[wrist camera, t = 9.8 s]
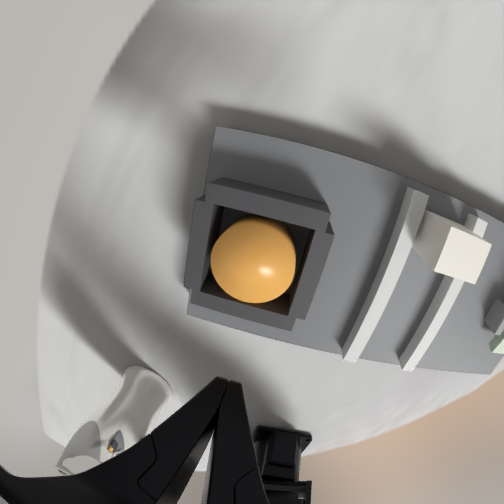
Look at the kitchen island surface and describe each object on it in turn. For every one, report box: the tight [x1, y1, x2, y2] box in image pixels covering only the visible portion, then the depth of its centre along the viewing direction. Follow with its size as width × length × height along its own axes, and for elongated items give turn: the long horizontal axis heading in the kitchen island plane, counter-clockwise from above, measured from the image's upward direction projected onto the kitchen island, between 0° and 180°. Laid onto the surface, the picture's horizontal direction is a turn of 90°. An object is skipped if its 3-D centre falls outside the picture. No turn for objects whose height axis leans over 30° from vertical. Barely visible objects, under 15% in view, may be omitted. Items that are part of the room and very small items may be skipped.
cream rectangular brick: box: [412, 210, 492, 284], centre depth 13 cm, size 2×3×4 cm
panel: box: [184, 126, 504, 374], centre depth 16 cm, size 13×29×4 cm, turn 78°
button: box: [211, 213, 296, 303], centre depth 16 cm, size 4×4×2 cm
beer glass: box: [55, 366, 173, 476], centre depth 21 cm, size 7×7×15 cm
